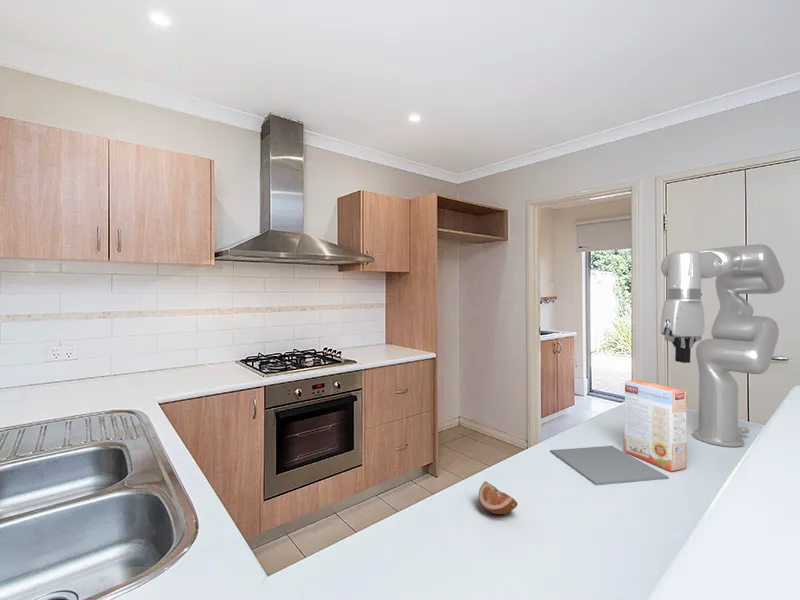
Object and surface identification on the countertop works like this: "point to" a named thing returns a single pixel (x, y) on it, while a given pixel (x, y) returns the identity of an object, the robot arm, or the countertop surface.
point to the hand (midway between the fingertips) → (682, 361)
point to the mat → (607, 465)
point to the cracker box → (656, 424)
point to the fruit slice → (495, 499)
